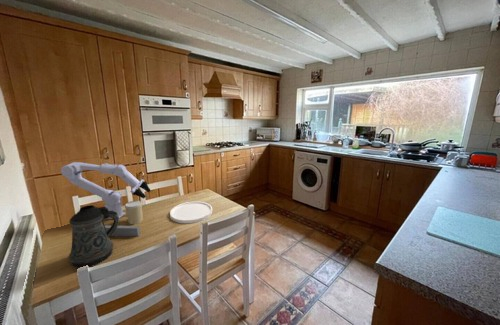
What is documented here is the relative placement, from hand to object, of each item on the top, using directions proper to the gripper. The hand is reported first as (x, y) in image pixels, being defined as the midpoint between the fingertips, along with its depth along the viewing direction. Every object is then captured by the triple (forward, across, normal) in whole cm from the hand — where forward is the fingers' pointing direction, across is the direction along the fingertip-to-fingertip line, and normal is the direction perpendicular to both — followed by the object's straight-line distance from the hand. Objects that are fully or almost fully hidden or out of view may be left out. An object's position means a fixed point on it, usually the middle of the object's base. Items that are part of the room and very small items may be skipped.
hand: (147, 194), depth 135 cm
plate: (+29, -2, -14) cm, 32 cm away
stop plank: (+5, -27, +10) cm, 29 cm away
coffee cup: (+7, -13, +10) cm, 18 cm away
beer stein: (+1, -43, +10) cm, 44 cm away
